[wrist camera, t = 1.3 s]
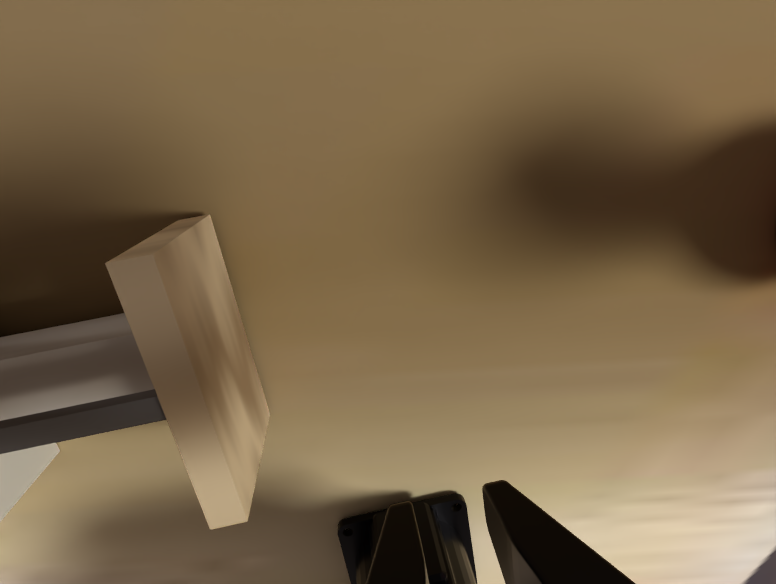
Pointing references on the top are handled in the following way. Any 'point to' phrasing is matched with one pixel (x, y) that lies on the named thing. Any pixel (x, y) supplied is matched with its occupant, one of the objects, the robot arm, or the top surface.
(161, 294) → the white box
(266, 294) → the top surface
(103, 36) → the top surface
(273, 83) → the top surface
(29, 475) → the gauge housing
